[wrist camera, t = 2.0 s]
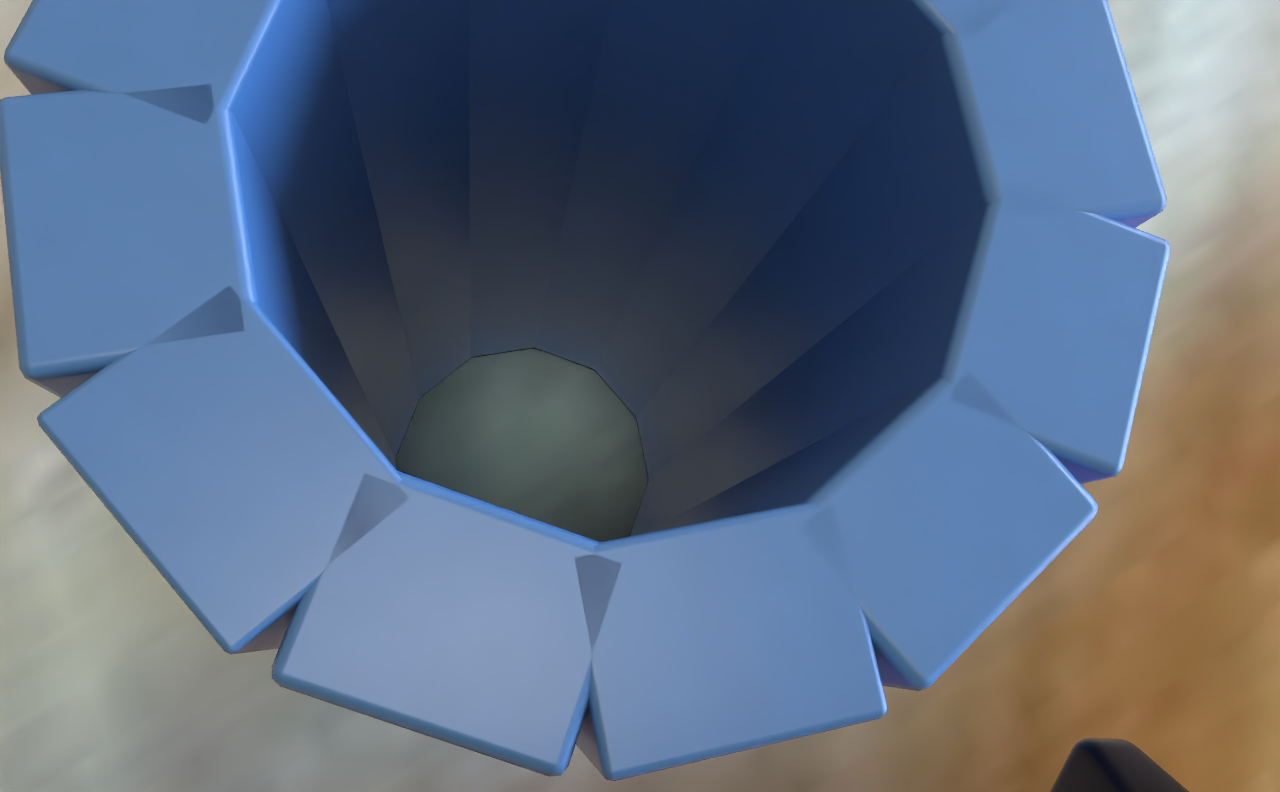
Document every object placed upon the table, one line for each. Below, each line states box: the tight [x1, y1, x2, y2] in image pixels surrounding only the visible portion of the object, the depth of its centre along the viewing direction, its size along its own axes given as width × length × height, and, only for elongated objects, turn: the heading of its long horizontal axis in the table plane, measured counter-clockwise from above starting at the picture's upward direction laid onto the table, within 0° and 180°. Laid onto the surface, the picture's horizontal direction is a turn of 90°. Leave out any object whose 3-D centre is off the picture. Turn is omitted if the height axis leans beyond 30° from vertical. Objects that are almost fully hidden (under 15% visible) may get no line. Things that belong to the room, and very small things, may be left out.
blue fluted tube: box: [0, 0, 1170, 781], centre depth 13 cm, size 7×7×14 cm
